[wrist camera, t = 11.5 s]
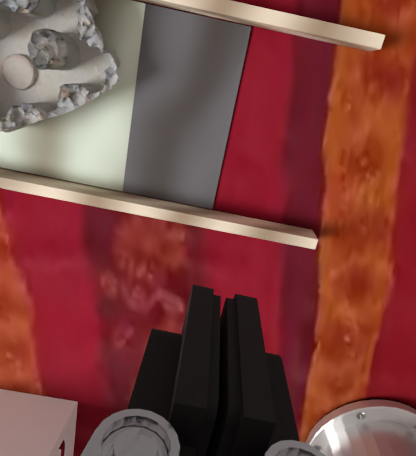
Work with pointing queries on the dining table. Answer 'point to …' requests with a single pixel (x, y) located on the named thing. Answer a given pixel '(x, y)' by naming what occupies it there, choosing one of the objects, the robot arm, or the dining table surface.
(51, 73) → the egg carton
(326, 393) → the dining table surface
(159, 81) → the channel
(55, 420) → the grater
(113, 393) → the dining table surface
